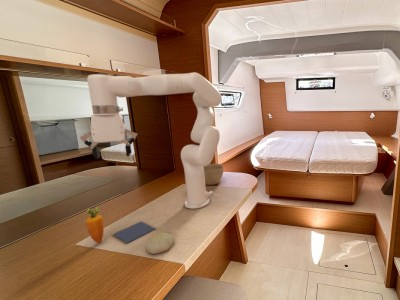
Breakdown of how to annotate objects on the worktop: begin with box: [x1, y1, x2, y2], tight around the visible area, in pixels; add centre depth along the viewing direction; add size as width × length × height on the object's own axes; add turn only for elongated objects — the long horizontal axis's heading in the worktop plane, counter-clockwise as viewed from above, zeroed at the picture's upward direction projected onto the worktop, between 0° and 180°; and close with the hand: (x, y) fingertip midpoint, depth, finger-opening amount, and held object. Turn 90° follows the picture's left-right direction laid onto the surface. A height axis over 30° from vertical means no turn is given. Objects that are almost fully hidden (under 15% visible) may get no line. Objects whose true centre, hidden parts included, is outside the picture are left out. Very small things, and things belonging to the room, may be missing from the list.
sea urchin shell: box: [144, 232, 174, 255], centre depth 80 cm, size 9×8×8 cm
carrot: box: [85, 206, 105, 245], centre depth 81 cm, size 5×5×15 cm
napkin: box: [113, 221, 156, 244], centre depth 90 cm, size 11×11×1 cm
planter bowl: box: [203, 163, 225, 186], centre depth 144 cm, size 16×16×11 cm
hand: (113, 156), depth 82 cm, fingers open, 9 cm apart
